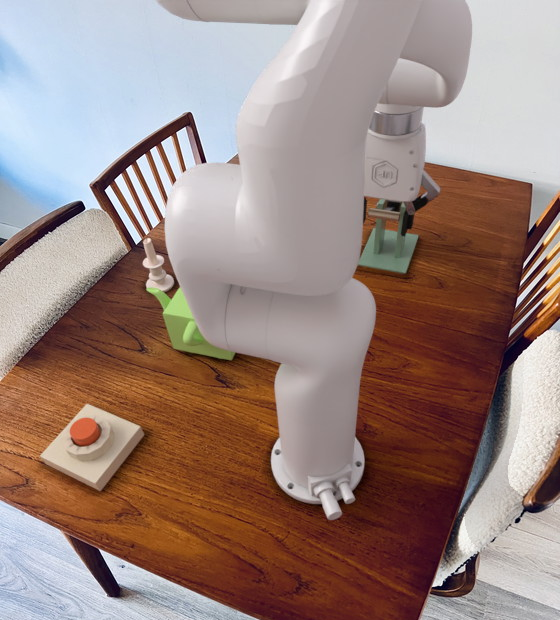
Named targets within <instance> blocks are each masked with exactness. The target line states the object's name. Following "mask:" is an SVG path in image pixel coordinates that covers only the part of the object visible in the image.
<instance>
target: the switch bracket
mask: <svg viewBox="0 0 560 620" xmlns="http://www.w3.org/2000/svg"><path fill="white" fill-rule="evenodd" d="M387 202H388V200H385V199H378V201H377V203H376V208H375V209H380V210H384V209H386V208H387ZM405 210H406V207H405V204H404V202H402V205H401V210H400V213H401V215H400V220H399V222H398V226H397V231H396V230H390V229H386V225H387V220H383V219H377V218H375V219H376V221H375V227H373V228H372V230H371V233H370V235H369V237H368V239H367V242H366V243H365V246H364V248H363V251H362V253H361V254H360V258H359V262H358V265H357V266H360V267H365V268H371V269H377V270H381V271H387V272H392V273H393V272H394V273H399V274H403V275H406V274H407V272H408V269H409V266H410V263H411V261H412V257H413V254H414V251H415V249H416V246H417V243H418V240H419V237H420V235H419V234H416V233H410V232H409V233H408V232H406V235H405V236H402V235H401V229H402V221H403V215H404V212H405Z"/></svg>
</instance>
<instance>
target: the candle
mask: <svg viewBox="0 0 560 620" xmlns="http://www.w3.org/2000/svg"><path fill="white" fill-rule="evenodd" d="M142 243H143V248H144V251H145V254H146V257H145V258H144V259H143V261H142V266H143V267H144V268H146V269H149V274H148V279H147V281H146V282H145V286H146V289H147V288H148V287H154V288H157V289H160V290H161V291H163V292H164V293H167V292H169V291H170V290H172V288H173V287H174V285H175V280H174V278H173V276H172V275H170V274H167V272H166V270H165V269H163V266H162V265H163V264H164V263H165V258H164V257H163V256H162V255H160V254H157V253H156V250H155V248H154V244H153V241H152V239H151V238H147V237H145V239H144V240H143V242H142Z"/></svg>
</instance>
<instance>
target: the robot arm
mask: <svg viewBox="0 0 560 620" xmlns="http://www.w3.org/2000/svg"><path fill="white" fill-rule="evenodd" d="M155 2H156V3H157V4H158V5H159V6H160V7H161V8H163V9H164V10H166V11H167V12H168V13H170V14H171V15H173V16H175V17H179V18H181V19H183V20H186V21H191V22H192V21H193V22H194V21H195V22H203V23H227V24H228V23H231V24H254V25H255V24H256V25H273V26H274V25H277V26H278V25H279V26H280V25H281V26H296V27H295V28H294V29H293V31H292V32H291V34H290V36H289V37H288V39H287V41H285V42H284V44H283V45H282V47H281V48H280V50H279V51H278V52H277V53H276V54H275V56H274V57H273V58H272V59H271V60H270V62H269V63H268V64H267V65H266V66H265V68H264V69H263V70H262V71H261V73H259V76H257V78H256V80H255V81H254V83H253V85H252V86H251V87H250V89H249V91H248V93H247V95H246V97H245V99H244V100H243V102H242V105H241V107H240V108H239V111H238V114H237V117H236V120H235V121H236V122H235V134H234V135H235V145H236V150H237V155H238V160H239V161H238V162H239V163H238V164H236V163H229V162H203V163H198V164H196V165H193V166H190V167H189V168H188V169H186V170H185V171H183V172H182V173H180V175H179V177H178V178H177V179H176V180H175V182H174V183H173V185H172V187H171V189H170V191H169V194H168V198H167V201H166V206H165V213H164V238H165V247H166V252H167V254H168V259H169V262H170V264H171V267H172V270H173V273H174V276H175V278H176V280H177V282H178V285H179V288H180V287H181V290H182V292H183V294H184V297H185V299H186V301H187V304H188V306H189V309H190V311H191V313H192V316H193V318H194V320H195V322H196V325H197V327H198V329H199V331H200V333H201V334H202V336H203V337H204V338H205V339H206V340H207V341H208V342H209V343H210V344H212V345H213V346H215V347H218V348H220V349H224V350H227V351H231V352H236V353H237V354H241V355H244V356H245V355H246V356H250V357H255V358H260V359H265V360H269V361H272V362H275V363H279V364H280V365H279V367H278V370H277V371H276V374H275V378H274V384H273V385H274V386H273V387H274V398H275V406H276V415H277V424H278V433H279V436H278V438H277V439H276V441H275V443H274V445H273V448H272V450H271V455H270V465H271V471H272V475H273V478H274V480H275V482H276V484H277V485H278V486H279V488H280V489H281V490H282V491H283V492H285V494H287V496H290V497H291V498H293V499H295V500H297V501H299V502H303V503H306V504H310V505H322V508H323V511H324V514H325V516H326V518H327V520H328V521H334V520H338V519H339V518H340V517H341V516H342V515H343V512H342V509H341V507H340V505H339V502H338V501H340V500H342V499H343V501H344V503H345V505H350V504H353V502H355V501H356V498H355V495H354V493H353V491H354V490H355V489H356V488H357V486H358V485H359V484H360V482H361V480H362V477H363V474H364V471H365V459H366V458H365V454H364V453H365V452H364V450H363V447H362V445H361V443H360V441H359V439H358V438H357V437H356V432H357V431H356V430H357V420H358V408H359V399H360V389H361V388H360V385H361V379H362V372H363V368H364V363H365V359H366V356H367V352H368V350H369V346H370V343H371V341H372V338H373V333H374V330H375V325H376V320H377V319H376V318H377V305H376V300H375V297H374V295H373V292H372V291H371V290H370V289H369V287H368V286H366V285H365V284H364V283H363V282H361V281H360V280H358V279H356V278H354V275H355V273H356V270H357V268H358V266H359V265H358V262H359V260H360V257H361V251H362V244H363V233H364V231H363V229H364V224H365V222H366V219H367V208H368V207H367V206H368V199H367V198H372V199H378V200H380V199H385V200H392V201H400V202H402V203H403V202H404V204H405V207H406V210H405V212H404V215H403V221H402V229H401V235H402V236H405V235H406V233H408V230H412V229H413V226H414V220H415V214H416V212H418V211H419V210H420V209H423V208H424V207H426V206H427V204H428V203H430V202H432V201H434V200H435V199H436V198H438V197H439V196H440V193H441V187H440V186H439V185H438V184H437V182H435V181H434V179H433V178H432V177H431V176H430V174H429V173H428V172H427V171H426V170H425V167H426V166H425V165H426V163H425V162H426V153H427V152H426V151H427V132H426V125H425V124H424V123H423V115H424V109H425V108H434V109H435V108H436V109H437V108H443V107H446V106H449V105H450V104H452V103H453V102H454V101H455V100H456V99H457V98H458V96H459V94H460V93H461V91H462V89H463V86H464V83H465V80H466V77H467V74H468V68H469V63H470V55H471V47H472V41H473V40H472V39H473V21H472V14H471V9H470V7H469V4H468V2H467V1H466V0H155ZM421 186H422V187H423V189H424V190H425V191H426V192H425V193H422V194H421V195H419V193H420V191H421ZM236 353H235V354H236Z"/></svg>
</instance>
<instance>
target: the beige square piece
mask: <svg viewBox="0 0 560 620" xmlns="http://www.w3.org/2000/svg"><path fill="white" fill-rule="evenodd" d="M81 418H91V419H93V420H94V421H95V422H96V424H97V425H98V427H99V429H100V436H99V438H98V440H97V441H96V442H94V443H93V444H91V445H89V446H79V445H77V444H76V443H75V441H74V440H73V438H72V437H71V435H70V428H71V426H72V425H73V423H74V422H76V421H77V420H79V419H81ZM144 436H145V433H144V431H143V428H142V426H140V425H138V424H136V423H134V422H132V421H129V420H127V419H124V418H122V417H119V416H117V415H115V414H113V413H110V412H108V411H106V410H103V409H101V408H99V407H96V406H94V405H91V404H89V403H86V404H85V405H84V406H83V407H82V408H81V409H80V411H79V412H78V413H77V414H76V415H75V416H74V417H73V418H72V419H71V420H70V422H68V424H67V425H66V426H65V427H64V429H62V430H61V432H60V433H59V434H58V435H57V436H56V437H55V438H54V439H53V440H52V441H51V442H50V444H49V445H48V446H47V447H46V448H45V450H44V451H43V452H42V453H41V454H40V455H39V457H40V458H41V460H42V461H43V462H44V464H45V465H46V466H48V467H50V468H52V469H55V470H56V471H59V472H61V473H63V474H65V475H66V476H69V477H71V478H73V479H75V480H77V481H79V482H81V483H83V484H85V485H87V486H89V487H91V488H93V489H94V490H97V491H99V492H101V491H102V490H103V489H104V487H105V486H107V484H108V482H109V481H110V480H111V479H112V477H113V476H114V475H115V473H116V472H117V471H118V470H119V469H120V467H121V465H123V463H124V462H125V461H126V459H127V458H129V457H128V456H129V455H130V454H131V453H132V451H134V449H135V448H136V446H137V445H138V444H139V443H140V441H142V439H143V437H144Z"/></svg>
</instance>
